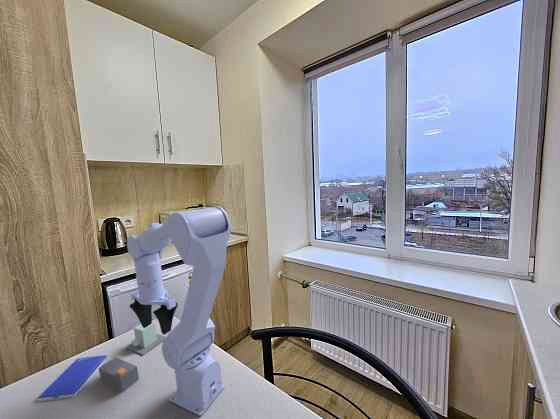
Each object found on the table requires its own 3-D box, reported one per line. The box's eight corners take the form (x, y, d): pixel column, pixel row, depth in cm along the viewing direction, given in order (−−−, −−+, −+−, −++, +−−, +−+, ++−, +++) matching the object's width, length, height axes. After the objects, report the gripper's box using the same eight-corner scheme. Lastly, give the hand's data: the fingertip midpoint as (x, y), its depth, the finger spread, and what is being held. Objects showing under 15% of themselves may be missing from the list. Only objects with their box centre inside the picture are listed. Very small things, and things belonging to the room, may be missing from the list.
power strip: (139, 378, 60) (137, 363, 60) (122, 392, 57) (120, 376, 56) (117, 368, 64) (115, 354, 64) (100, 380, 61) (98, 365, 60)
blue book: (76, 358, 68) (36, 397, 56) (106, 354, 69) (73, 392, 56) (77, 363, 68) (37, 403, 56) (107, 359, 69) (75, 398, 57)
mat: (167, 338, 76) (167, 337, 76) (143, 355, 69) (143, 354, 69) (150, 332, 79) (150, 331, 79) (125, 348, 72) (125, 347, 72)
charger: (157, 339, 75) (154, 323, 74) (139, 352, 70) (136, 334, 69) (148, 336, 77) (146, 320, 76) (130, 348, 72) (127, 331, 71)
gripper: (182, 276, 62) (188, 325, 64) (145, 270, 68) (152, 315, 70) (158, 288, 56) (166, 342, 57) (120, 280, 62) (128, 329, 64)
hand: (156, 328), depth 63 cm, fingers open, 7 cm apart
